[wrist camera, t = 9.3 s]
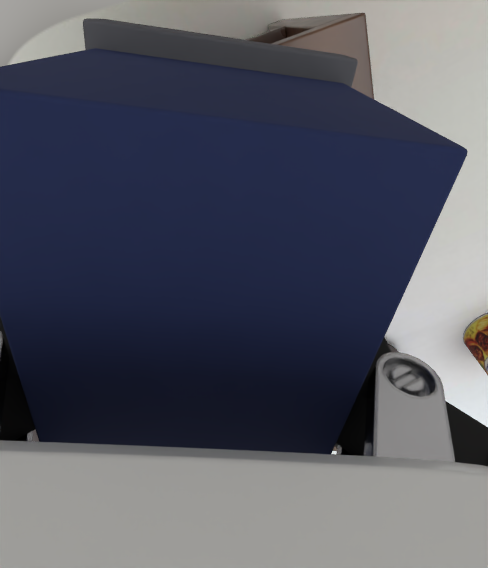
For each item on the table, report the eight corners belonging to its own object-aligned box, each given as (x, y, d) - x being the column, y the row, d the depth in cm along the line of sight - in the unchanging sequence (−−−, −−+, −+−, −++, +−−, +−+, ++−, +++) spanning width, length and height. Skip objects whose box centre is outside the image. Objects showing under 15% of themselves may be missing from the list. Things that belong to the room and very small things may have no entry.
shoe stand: (283, 19, 33) (365, 11, 13) (305, 122, 38) (387, 228, 18) (100, 88, 36) (-59, 167, 16) (142, 176, 41) (61, 320, 21)
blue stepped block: (101, 18, 9) (-123, 11, 3) (343, 54, 10) (514, 102, 4) (129, 410, 17) (81, 600, 12) (257, 417, 18) (271, 601, 12)
